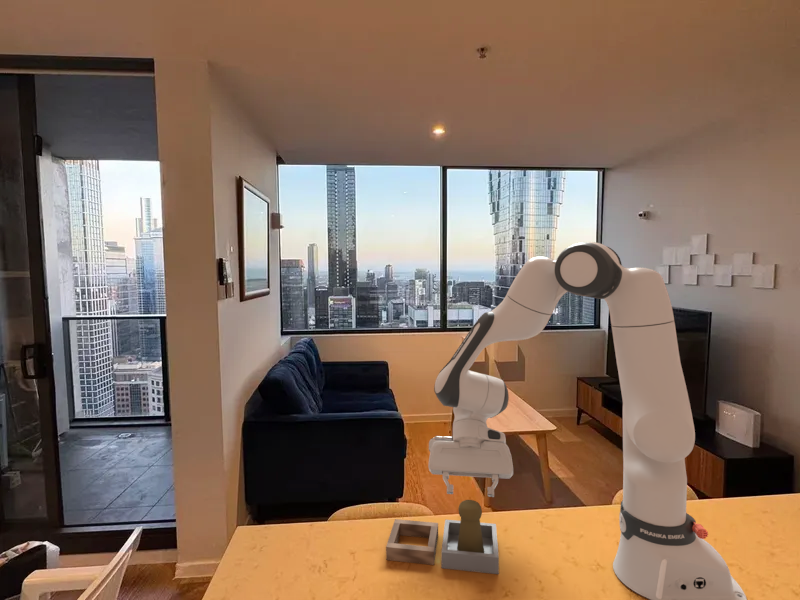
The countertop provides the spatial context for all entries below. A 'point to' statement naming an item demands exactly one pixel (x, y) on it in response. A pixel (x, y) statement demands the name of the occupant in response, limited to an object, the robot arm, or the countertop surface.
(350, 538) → the countertop surface
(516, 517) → the countertop surface
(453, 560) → the slate tray
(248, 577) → the countertop surface
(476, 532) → the olive pawn
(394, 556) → the walnut holder
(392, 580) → the countertop surface
